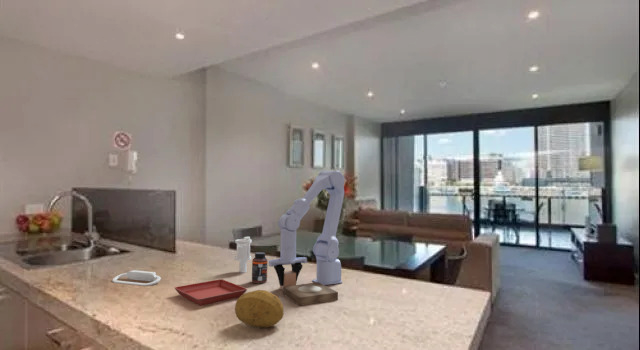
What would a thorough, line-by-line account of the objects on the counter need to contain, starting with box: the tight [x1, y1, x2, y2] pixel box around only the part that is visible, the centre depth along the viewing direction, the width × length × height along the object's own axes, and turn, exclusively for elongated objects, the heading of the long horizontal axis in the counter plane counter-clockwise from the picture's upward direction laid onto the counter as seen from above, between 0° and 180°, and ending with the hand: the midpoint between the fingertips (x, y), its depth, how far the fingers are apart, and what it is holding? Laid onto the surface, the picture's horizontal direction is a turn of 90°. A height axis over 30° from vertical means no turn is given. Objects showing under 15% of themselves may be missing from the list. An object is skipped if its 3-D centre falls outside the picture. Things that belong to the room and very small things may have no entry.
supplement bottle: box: [251, 251, 268, 284], centre depth 144 cm, size 6×6×11 cm
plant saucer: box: [174, 278, 248, 307], centre depth 124 cm, size 18×18×3 cm
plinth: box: [282, 282, 339, 306], centre depth 125 cm, size 14×14×3 cm
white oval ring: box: [111, 269, 162, 287], centre depth 142 cm, size 20×8×4 cm, turn 73°
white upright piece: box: [234, 236, 253, 274], centre depth 160 cm, size 7×7×15 cm
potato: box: [234, 289, 285, 329], centre depth 99 cm, size 10×13×9 cm
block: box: [279, 270, 297, 291], centre depth 135 cm, size 4×4×6 cm
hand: (287, 284), depth 135 cm, fingers closed on block, 4 cm apart
